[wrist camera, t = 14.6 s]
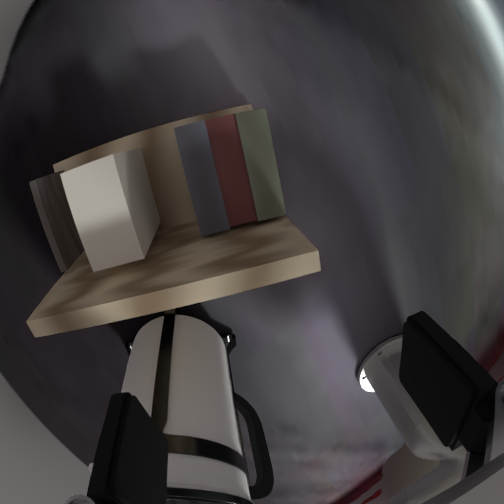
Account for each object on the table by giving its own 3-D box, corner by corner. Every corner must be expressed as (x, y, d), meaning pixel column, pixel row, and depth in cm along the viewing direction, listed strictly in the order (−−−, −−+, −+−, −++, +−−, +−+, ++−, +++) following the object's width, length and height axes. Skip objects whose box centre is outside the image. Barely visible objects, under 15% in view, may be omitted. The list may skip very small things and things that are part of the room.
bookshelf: (249, 105, 29) (289, 81, 15) (271, 211, 34) (321, 270, 20) (58, 163, 28) (-28, 191, 14) (90, 259, 33) (35, 337, 18)
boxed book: (140, 147, 28) (113, 154, 19) (160, 221, 31) (144, 258, 22) (101, 160, 27) (60, 174, 18) (122, 232, 31) (93, 272, 21)
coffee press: (137, 384, 41) (120, 573, 13) (116, 293, 35) (40, 536, 7) (251, 382, 43) (298, 570, 16) (255, 290, 37) (344, 541, 10)
